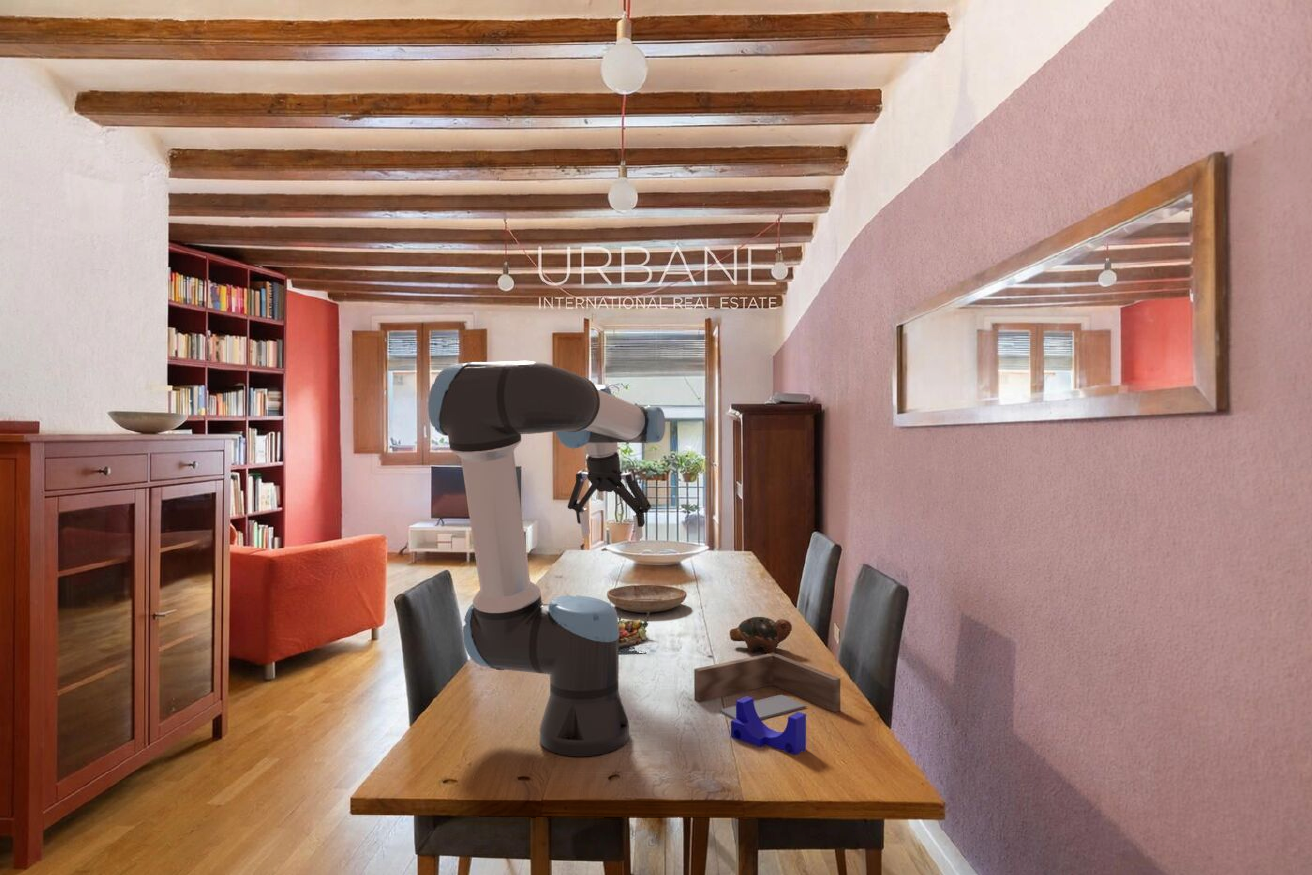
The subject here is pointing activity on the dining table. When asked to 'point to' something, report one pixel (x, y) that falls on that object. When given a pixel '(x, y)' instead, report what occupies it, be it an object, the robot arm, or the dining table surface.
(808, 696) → the corner walls
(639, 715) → the dining table surface
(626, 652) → the plated dish
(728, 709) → the grey mat
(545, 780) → the dining table surface
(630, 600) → the ceramic bowl
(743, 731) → the blue curved block
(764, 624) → the decorative turtle
